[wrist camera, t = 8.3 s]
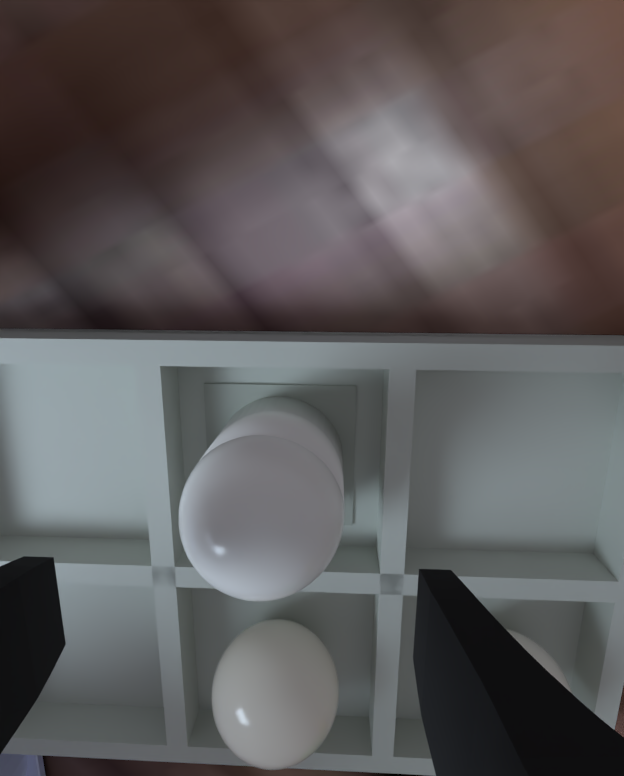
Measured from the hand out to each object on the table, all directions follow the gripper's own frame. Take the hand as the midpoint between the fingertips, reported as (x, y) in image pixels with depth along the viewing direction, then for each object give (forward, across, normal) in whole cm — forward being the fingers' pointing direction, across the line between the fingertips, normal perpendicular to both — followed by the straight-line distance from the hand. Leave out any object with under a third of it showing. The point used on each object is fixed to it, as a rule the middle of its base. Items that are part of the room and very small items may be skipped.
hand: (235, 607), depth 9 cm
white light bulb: (+8, 0, 0) cm, 8 cm away
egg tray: (+9, 0, +4) cm, 9 cm away
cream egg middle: (+8, 0, +8) cm, 11 cm away
